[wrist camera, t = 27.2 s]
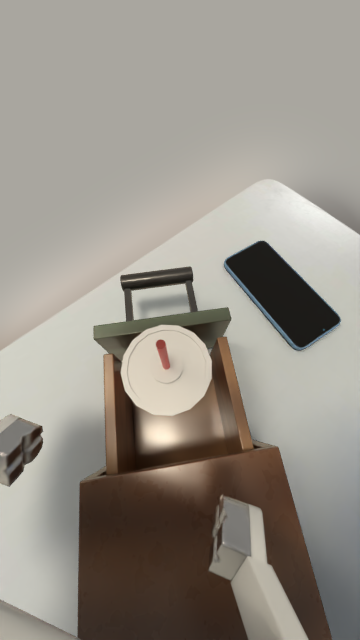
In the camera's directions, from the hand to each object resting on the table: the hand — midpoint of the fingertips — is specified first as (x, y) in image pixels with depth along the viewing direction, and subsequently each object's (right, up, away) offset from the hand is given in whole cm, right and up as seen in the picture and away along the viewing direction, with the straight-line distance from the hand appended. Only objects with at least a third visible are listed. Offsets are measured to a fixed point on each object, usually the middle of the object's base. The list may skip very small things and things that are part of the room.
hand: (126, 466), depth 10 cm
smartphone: (+15, +10, +20) cm, 27 cm away
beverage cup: (+1, -1, +14) cm, 14 cm away
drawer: (+1, 0, +15) cm, 15 cm away
